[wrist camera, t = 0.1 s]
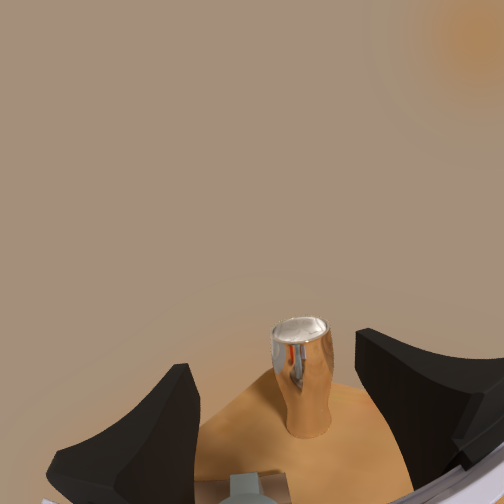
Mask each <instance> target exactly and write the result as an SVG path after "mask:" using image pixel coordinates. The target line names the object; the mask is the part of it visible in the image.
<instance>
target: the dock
mask: <svg viewBox="0 0 504 504" xmlns="http://www.w3.org/2000/svg"><path fill="white" fill-rule="evenodd" d="M259 479H260V482H261V485H262V488H263V491H264V496H267V497H269V498H271V499H273V500H274V501H275V502H276V503H277V504H292V503H291V498H290V493H289V488H288V484H287V479H286V474H285V473H280V474H274V475H268V476H261V477H259ZM194 492H195V504H219V503H220V502H221V501H223V500H225V499H226V498H229V497H230V480H219V481H194Z"/></svg>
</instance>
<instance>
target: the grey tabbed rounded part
mask: <svg viewBox="0 0 504 504" xmlns="http://www.w3.org/2000/svg"><path fill="white" fill-rule="evenodd" d="M219 504H277V503H276V502H275V501H274V500H273V499H271V498H269V497H267V496H264V491H263V488H262V485H261V482H260V479H259V476H258V473H257V472H253V473H244V474H233V475H230V497H229V498H226V499H225V500H223V501H221V502H220V503H219Z"/></svg>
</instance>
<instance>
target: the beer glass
mask: <svg viewBox="0 0 504 504" xmlns="http://www.w3.org/2000/svg"><path fill="white" fill-rule="evenodd" d="M270 340H271V354H272V361H273V362H272V363H273V368H274V373H275V377H276V380H277V383H278V386H279V388H280V391H281V393H282V396H283V398H284V401H285V403H286V407H287V420H286V427H287V429H288V431H289V432H290V433H291V434H292V435H294V436H296V437H299V438H314V437H317V436H320V435H322V434H323V433H325V432H326V431H327V430H328V429H329V428H330V426H331V423H332V417H331V413H330V410H329V405H328V401H329V394H330V389H331V384H332V378H333V371H334V352H333V343H332V337H331V331H330V323H329V322H328V321H327V320H326V319H324V318H322V317H318V316H310V315H305V316H296V317H291V318H288V319H285V320H282V321H280V322H278V323H277V324H275V325H274V326H273V327H272V328H271V330H270Z"/></svg>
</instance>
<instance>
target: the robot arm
mask: <svg viewBox="0 0 504 504" xmlns="http://www.w3.org/2000/svg"><path fill="white" fill-rule="evenodd" d="M355 345H356V346H355V370H356V372H357V374H358V376H359V378H360V381H361V383H362V385H363V386H364V388H365V389H366V391H367V392H368V394H369V396H370V397H371V399H372V400H373V402H374V403H375V405H376V406H377V408H378V409H379V411H380V412H381V414H382V415H383V417H384V418H385V420H386V421H387V423H388V425H389V427H390V429H391V431H392V433H393V435H394V437H395V440H396V442H397V444H398V446H399V449H400V451H401V454H402V456H403V459H404V461H405V464H406V467H407V470H408V472H409V476H410V479H411V482H412V486H413V489H414V492H412V493H410V494H408V495H406V496H404V497H401V498H399V499H397V500H395V501H393V502H390V503H388V504H494V503H495V502H496V501H497V500H498V499H499V498H501V497H502V496H503V495H504V358H497V359H465V358H457V357H450V356H445V355H440V354H436V353H432V352H428V351H425V350H422V349H419V348H416V347H413V346H411V345H408V344H405V343H403V342H400V341H398V340H396V339H393V338H391V337H389V336H387V335H384V334H382V333H380V332H378V331H375V330H373V329H370V328H366V329H362V330H359V331H356V344H355ZM199 423H200V396H199V393H198V390H197V388H196V385H195V382H194V379H193V377H192V374H191V371H190V368H189V365H188V363H185V364H175V365H173V366H172V368H171V369H170V370H169V371H168V372H167V373H166V375H165V376H164V377H163V378H162V379H161V380H160V382H159V383H158V384H157V385H156V386H155V387H154V388H153V390H152V391H151V392H150V393H149V394H148V395H147V396H146V397H145V398H144V399H143V400H142V401H141V402H140V403H139V404H138V405H137V406H136V407H135V408H134V409H133V410H132V411H130V412H129V413H128V414H127V415H126V416H124V417H123V418H122V419H121V420H119V421H118V422H116V423H115V424H113V425H112V426H110V427H109V428H107V429H106V430H104V431H103V432H101V433H99V434H97V435H95V436H94V437H92V438H90V439H88V440H85V441H83V442H81V443H79V444H76V445H74V446H71V447H68V448H65V449H62V450H59V451H57V452H56V454H55V456H54V459H53V460H52V463H51V464H50V466H49V468H48V470H47V473H46V477H47V479H48V481H49V482H50V484H51V485H52V486H53V487H54V488H55V489H56V490H58V491H59V492H60V493H61V494H62V495H63V496H65V497H66V498H67V499H68V500H69V501H70V502H72V503H73V504H195V492H194V460H195V452H196V445H197V437H198V430H199ZM42 504H58V503H56V502H53V501H51V500H48V499H46V498H44V499H43V501H42Z"/></svg>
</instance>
